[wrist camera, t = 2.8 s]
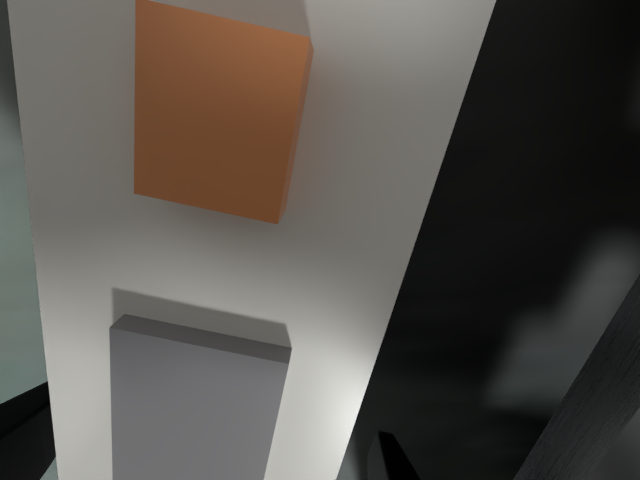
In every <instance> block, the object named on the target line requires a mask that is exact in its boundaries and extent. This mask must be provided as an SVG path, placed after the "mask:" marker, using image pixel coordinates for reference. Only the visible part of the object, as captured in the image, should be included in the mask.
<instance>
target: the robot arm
mask: <svg viewBox="0 0 640 480" xmlns="http://www.w3.org/2000/svg"><path fill="white" fill-rule="evenodd" d="M55 457H56V451H55V441H54V432H53V423H52V414H51V404H50V395H49V386H48V381H47V382H45V383H43V384H41V385H39V386H37V387H35V388H33V389H31V390H29V391H26V392H24V393H22V394H20V395H18V396H16V397H14V398H12V399H10V400H8V401H6V402H4V403H1V404H0V480H40V479H41V477H42V476H43V475H44V473H45V472H46V471H47V469H48V468H49V466H50V465H51V463H52V462H53V460H54V459H55ZM367 480H421V479H420V477H419V476H418V474H417V472H416V471H415V469H414V467H413V466H412V464H411V462H410V461H409V459H408V458H407V456H406V454H405V453H404V451H403V449H402V448H401V446H400V444H399V443H398V441H397V439H396V438H395V436H394V435H393V434H392V433H388V432H383V431H377V432H376V434H375V436H374V439H373V442H372V444H371V447H370V450H369V453H368V460H367Z"/></svg>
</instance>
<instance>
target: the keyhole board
mask: <svg viewBox="0 0 640 480" xmlns="http://www.w3.org/2000/svg"><path fill="white" fill-rule="evenodd" d="M513 480H640V275H639V276H638V278H637V280H636V281H635V283H634V285H633V286H632V288H631V289H630V291H629V293H628V294H627V296H626V298H625V299H624V301H623V302H622V304H621V306H620V307H619V309H618V311H617V312H616V314H615V315H614V317H613V319H612V320H611V322H610V323H609V325H608V327H607V328H606V330H605V332H604V333H603V335H602V336H601V338H600V340H599V341H598V343H597V345H596V346H595V348H594V349H593V351H592V353H591V354H590V356H589V358H588V359H587V361H586V362H585V364H584V366H583V367H582V369H581V370H580V372H579V374H578V375H577V377H576V379H575V380H574V382H573V383H572V385H571V387H570V388H569V390H568V392H567V393H566V395H565V396H564V398H563V400H562V401H561V403H560V405H559V406H558V408H557V409H556V411H555V413H554V414H553V416H552V417H551V419H550V421H549V422H548V424H547V426H546V427H545V429H544V430H543V432H542V434H541V435H540V437H539V439H538V440H537V442H536V443H535V445H534V447H533V448H532V450H531V452H530V453H529V455H528V456H527V458H526V460H525V461H524V463H523V464H522V466H521V468H520V469H519V471H518V473H517V474H516V476H515V477H514V479H513Z"/></svg>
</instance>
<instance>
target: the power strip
mask: <svg viewBox="0 0 640 480" xmlns="http://www.w3.org/2000/svg"><path fill="white" fill-rule="evenodd" d="M495 2H496V0H7V6H8V15H9V24H10V33H11V43H12V52H13V61H14V71H15V80H16V89H17V98H18V108H19V117H20V126H21V135H22V145H23V154H24V163H25V173H26V182H27V191H28V200H29V210H30V219H31V228H32V237H33V247H34V256H35V265H36V274H37V284H38V293H39V302H40V312H41V321H42V330H43V339H44V349H45V358H46V367H47V376H48V386H49V395H50V404H51V414H52V423H53V432H54V441H55V451H56V460H57V469H58V478H59V480H336V478H337V475H338V472H339V469H340V466H341V463H342V460H343V457H344V454H345V451H346V448H347V445H348V442H349V439H350V436H351V433H352V430H353V427H354V424H355V421H356V418H357V415H358V412H359V409H360V406H361V403H362V400H363V397H364V394H365V391H366V388H367V385H368V382H369V379H370V376H371V373H372V370H373V367H374V364H375V361H376V358H377V355H378V352H379V349H380V346H381V343H382V340H383V337H384V334H385V331H386V328H387V325H388V322H389V319H390V316H391V313H392V310H393V307H394V304H395V301H396V298H397V296H398V293H399V290H400V287H401V284H402V281H403V278H404V275H405V272H406V269H407V266H408V263H409V260H410V257H411V254H412V251H413V248H414V245H415V242H416V239H417V236H418V233H419V230H420V227H421V224H422V221H423V218H424V215H425V212H426V209H427V206H428V203H429V200H430V197H431V194H432V191H433V188H434V185H435V182H436V179H437V176H438V173H439V170H440V167H441V164H442V161H443V158H444V155H445V152H446V149H447V146H448V143H449V140H450V137H451V134H452V131H453V128H454V125H455V122H456V119H457V116H458V113H459V110H460V107H461V104H462V101H463V98H464V95H465V92H466V89H467V86H468V83H469V80H470V77H471V74H472V71H473V68H474V65H475V62H476V59H477V56H478V53H479V50H480V47H481V44H482V41H483V38H484V35H485V32H486V29H487V26H488V23H489V20H490V17H491V14H492V11H493V8H494V5H495Z"/></svg>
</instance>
